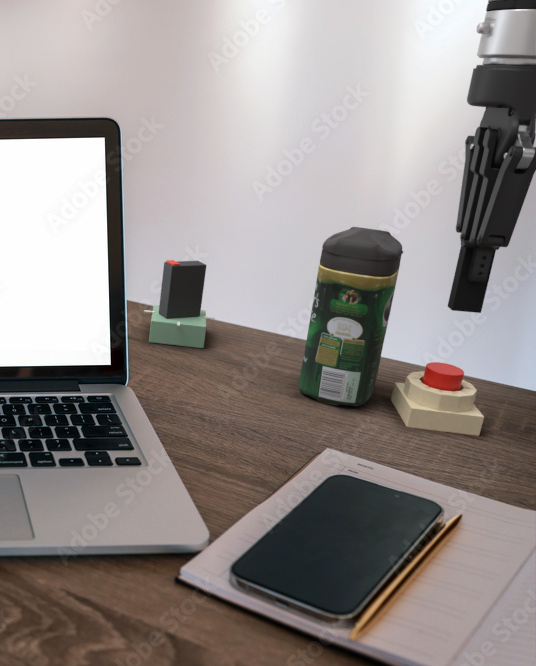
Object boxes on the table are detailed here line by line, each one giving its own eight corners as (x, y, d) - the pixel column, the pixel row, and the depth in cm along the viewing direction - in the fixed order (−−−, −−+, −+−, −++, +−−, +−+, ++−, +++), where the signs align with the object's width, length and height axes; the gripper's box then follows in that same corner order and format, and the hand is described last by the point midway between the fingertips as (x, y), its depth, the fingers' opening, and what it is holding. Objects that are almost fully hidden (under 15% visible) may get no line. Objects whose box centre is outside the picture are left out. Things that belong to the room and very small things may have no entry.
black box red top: (191, 311, 104) (198, 258, 101) (200, 316, 102) (207, 263, 99) (158, 313, 102) (164, 260, 100) (166, 318, 100) (172, 264, 98)
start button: (453, 382, 83) (458, 364, 82) (464, 395, 80) (469, 377, 79) (417, 378, 84) (422, 360, 83) (427, 391, 80) (431, 372, 80)
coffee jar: (308, 370, 94) (336, 218, 88) (377, 386, 90) (411, 229, 84) (288, 397, 86) (317, 232, 80) (363, 415, 82) (400, 244, 76)
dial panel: (210, 329, 106) (213, 307, 105) (212, 352, 98) (215, 329, 97) (143, 322, 108) (146, 300, 107) (139, 344, 99) (142, 321, 98)
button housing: (457, 408, 85) (466, 374, 84) (479, 436, 79) (489, 400, 78) (390, 400, 87) (398, 367, 85) (406, 427, 80) (415, 392, 79)
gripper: (454, 62, 77) (408, 289, 85) (503, 60, 65) (443, 325, 73) (536, 65, 76) (481, 295, 84) (601, 64, 64) (530, 333, 72)
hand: (464, 309), depth 78 cm, fingers closed
